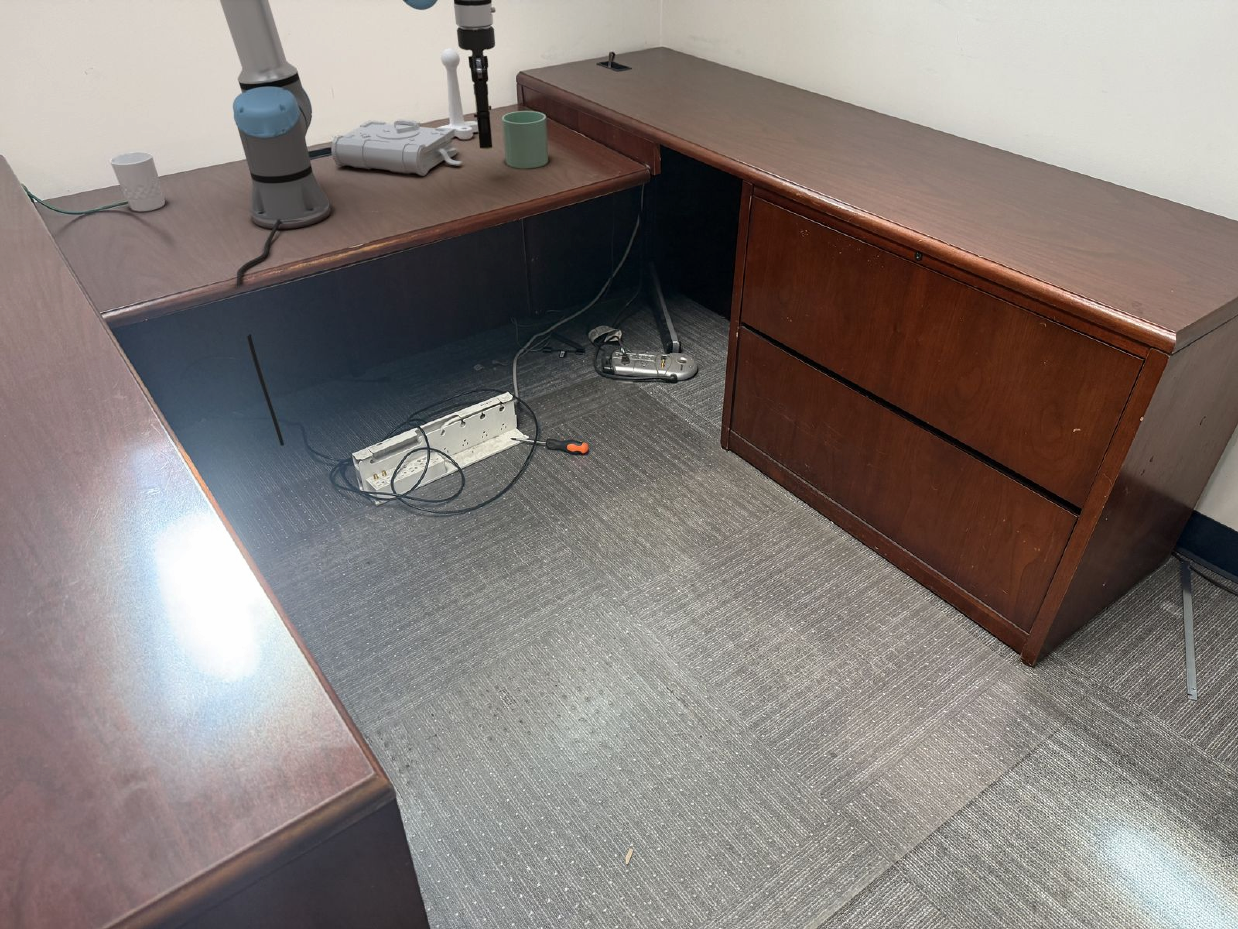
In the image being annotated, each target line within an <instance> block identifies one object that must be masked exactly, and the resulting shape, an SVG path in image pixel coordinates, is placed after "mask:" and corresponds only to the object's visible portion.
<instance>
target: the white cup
mask: <svg viewBox="0 0 1238 929" xmlns="http://www.w3.org/2000/svg"><path fill="white" fill-rule="evenodd" d="M109 163H110V165H111V168H112V170H113V173H114V175H115V177H116V179H117V181H118V184H119V186H120V189H121V191H122V193H123V196H124V197H125V198H126V202H127V204H128V207H129V208H130V209H131V210H132V211H135V212H150V211H155V210H159V209H161V208H162V207H164V206H165V204H166V200H165V197H164V194H163V188H162V185H161V181H160V177H159V174H158V170H157V167H156V164H155V160H154V156H153V154H152V153H150V152H147V151H132V152H125V153H121V154H118V155H115V156H113V157H111V158H110V159H109Z"/></svg>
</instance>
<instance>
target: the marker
mask: <svg viewBox="0 0 1238 929" xmlns="http://www.w3.org/2000/svg"><path fill="white" fill-rule="evenodd" d="M472 86H473V95H474V102H475V103H474V104H475V114H477V104H476V93H475V84H474V83H473V85H472ZM487 94H488V95H489V85H488V83H487ZM488 106H490V101H489V100H488ZM477 125H478V123H477ZM490 126H491V123H490ZM491 127H492V126H491ZM477 136H478V137H479V134H478V135H477ZM491 137H492V135H491ZM478 145H479V147H480V144H479V143H478ZM480 149H481V150H490V149H491V148H480Z"/></svg>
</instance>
